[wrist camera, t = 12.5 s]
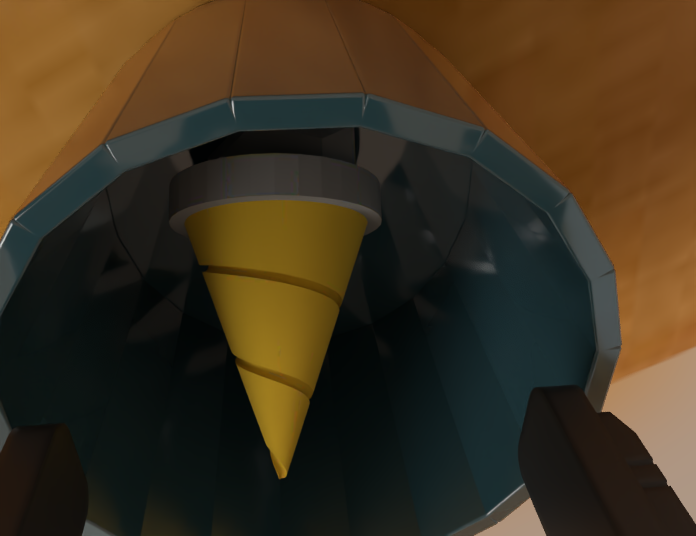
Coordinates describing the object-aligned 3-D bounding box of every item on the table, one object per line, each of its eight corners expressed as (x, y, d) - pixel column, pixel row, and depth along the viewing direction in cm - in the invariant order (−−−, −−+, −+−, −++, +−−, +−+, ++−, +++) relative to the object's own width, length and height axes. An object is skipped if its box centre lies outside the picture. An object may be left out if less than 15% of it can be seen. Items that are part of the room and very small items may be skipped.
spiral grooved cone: (406, 102, 18) (428, 467, 16) (254, 141, 20) (259, 461, 18) (306, 7, 13) (320, 508, 11) (124, 74, 15) (113, 493, 14)
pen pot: (134, 351, 22) (63, 610, 14) (47, -10, 15) (-167, 109, 8) (460, 329, 23) (556, 558, 15) (504, -17, 16) (707, 82, 9)
